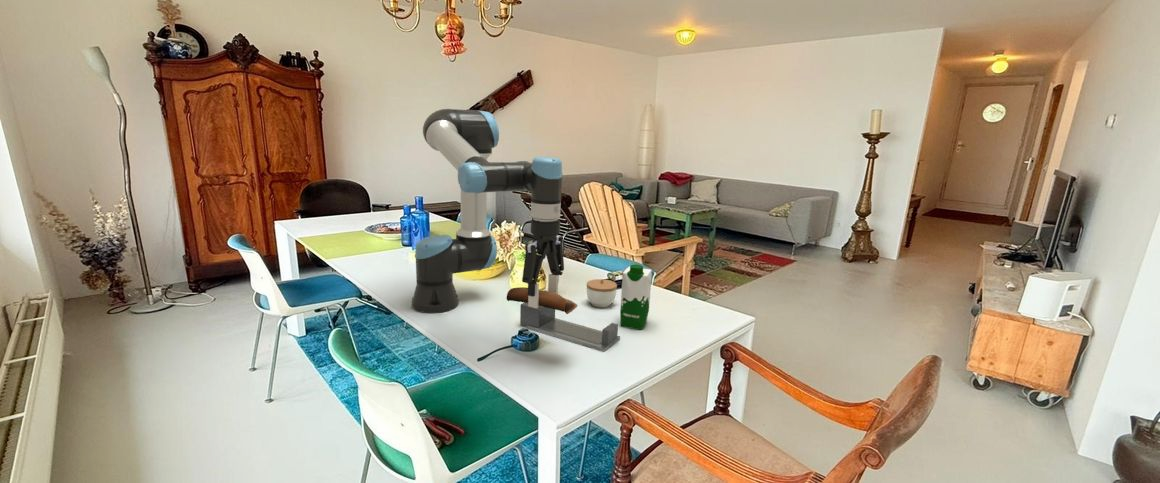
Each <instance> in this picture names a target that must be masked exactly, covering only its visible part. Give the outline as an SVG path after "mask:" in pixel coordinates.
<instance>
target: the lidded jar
mask: <svg viewBox="0 0 1160 483" xmlns="http://www.w3.org/2000/svg"><path fill="white" fill-rule="evenodd" d="M617 289H618V284H617V283H616V282H615V281H613V280H610V279H604V278H599V279H598V278H597V279H592V280H588V281H587V282H586V295H587V296H586V297H587V299H588V301H589V302H590V303H591V305H592V307H596V308H602V309H603V308H608V307H609V306H610V305H611V304H612V303H613V302H614V300H615V299H616V295H617Z"/></svg>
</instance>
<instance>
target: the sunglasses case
mask: <svg viewBox="0 0 1160 483" xmlns="http://www.w3.org/2000/svg"><path fill="white" fill-rule="evenodd" d="M506 301H507V302H509V301H510V302H511V301H512V302H518V303H528V287H525V286H524V287H521V286H520V287H513V288H510V289H509V290H508V291H507V294H506ZM538 306H543V307H546V308H551V309H555V311H560V312H564V313H565V314H566V315H569V314H570V313H572V312H573V311H574V310H575V309H577V307H578V304H577V303H576V302H574V301H573V300H571V299H567V298H565V297H563V296H562V295H560V294H559V293H558V294H557V293H554V292H548V290H543V289H542V290H541V289H539V298H538Z"/></svg>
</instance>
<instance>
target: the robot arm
mask: <svg viewBox="0 0 1160 483" xmlns="http://www.w3.org/2000/svg"><path fill="white" fill-rule="evenodd" d="M497 122H498V121H497V120H496V117H495V116H494V115H493V114H492V113H491V112H489V111H484V110H478V109H477V110H476V109H473V110H472V109H455V108H453V109H452V108H441V109H439V110H436V111H434V112H432V113H431V114H429V115H428V117H427V118H426V119H425V121H424V123H423V126H422V135H423V138H424V141H425V142H426V143H427V145H428V146H429V147H430V148H431V149H433V150H435V151H438V152H439V153H440V154H441V155H442V156H443V157H444V159H446V160H447V161H448V162H449V163H450V164H451V166H452V167H453V168H454V169H456V171H457V182H458V185H459V189H460V228H458V230H457V231H456V233H455V238H452V236H450V235H447V234H441V235H440V234H437V235H430V236H426V237H424V238H421V239H420V240H418V241H417V243H416V244H415V252H414V253H415V254H414V258H415V274H416V275H415V276H416V286H415V289H414V293H413V296H412V298H411V309H413V310H414V311H416V312H420V313H425V314H436V313H439V314H440V313H444V312H449V311H452V310H453V309H455V308H456V307H458V306H459V296H458V294H457V289H456V288H455V284H454V282H453V280H454V279H453V278H454V277H453V274H459V273H466V272H474V271H482V270H486V269H489V268H491V267H492V266H494V265H493V264H495V261H496V260H497V255H498V254H497V253H498V245H497V241H496V239H495V238H494V237H493V235H492V234H491V231H490V230H489V229H488V228H487V206H488V203H487V202H488V201H487V200H488V199H487V196H488V195H487V194H488V193H495V192H496V193H497V192H498V193H499V192H522V191H527V192H531V195H530V196H531V201H530V217H531V219H530V233H531V234H532V235H533V240H532V242H531V243H526V244H525V245H524V250H525V254H524V264H523V270H522V271H523V272H522V278H521V281H522V283H525V284H527V288H528V306H529V307H533V308H536V309H537V308H538V298H539V290H540V288H539V287H540V283H538V280H539V276H540V272H541V268H542V265H543V262H544V260H545V259H546V260H547V264H548V267H549V270H550V271H549V272H550V273H549V274H548V286H547V287H548V288H547V289H548V290H547V291H548V292H554V293H557V294H559V281H560V280H559V278H560V276H562V275H563V271H564V270H565V263H564V248H563V246H564V245H563V244H564V237H563V236H559V234H560V233H561V220H560V218H561V209H562V208H561V204H562V203H561V202H562V187H563V186H562V185H563V184H562V183H563V166H562V165H563V163H562V162H563V161H562V160H561V159H560V158H558V157H548V156H537V157H534V158H533V159H532V162H531V161H529V160H528V161H527V160H518V161H514V162H511V161H509V162H507V161H505V162H503V161H500V162H498V161H496V162H495V161H494V162H492V161H491V162H490V161H488V158H489V157H490V156H491V155H492V152H493V151H492V150H493V149H494V148H495V147H496V148H497V147H498V144H499V141H500V131H499V125H498V123H497Z"/></svg>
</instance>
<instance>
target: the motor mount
mask: <svg viewBox="0 0 1160 483" xmlns="http://www.w3.org/2000/svg"><path fill="white" fill-rule="evenodd" d="M519 312H520V315H519V318H520V323H519V326H520V327H524V328H526V329H527V328H528V329H527V330H530V331H531V330H532V331H535V332H537V333H541V334H545V335H547V336H551V337H553V338H557V339H561V340H564V341H567V342H570V343H574V344H577V345H580V346H583V347H587V348H591V349H593V350H596V351H600V352H607V351H608V349H610V348H611V347H612V346H614V345H615V344H616V343H617V342H619V341H620V340H621V336H620V335H618V334H619V331H618V330H619V324H617V323H614V322H611V323H610V324H608V325H607V326H606V327H604V328H602V330H598V329H596V328H591V327H588V326H584V325H581V324H577V323H574V322H571V321H567V320H563V319H560V318H556V310H555V309H551V308H546V307H543V306H538V308H537V309H536V308H533V307H529V306H528V303H524V302H521V303H520V310H519Z"/></svg>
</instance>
